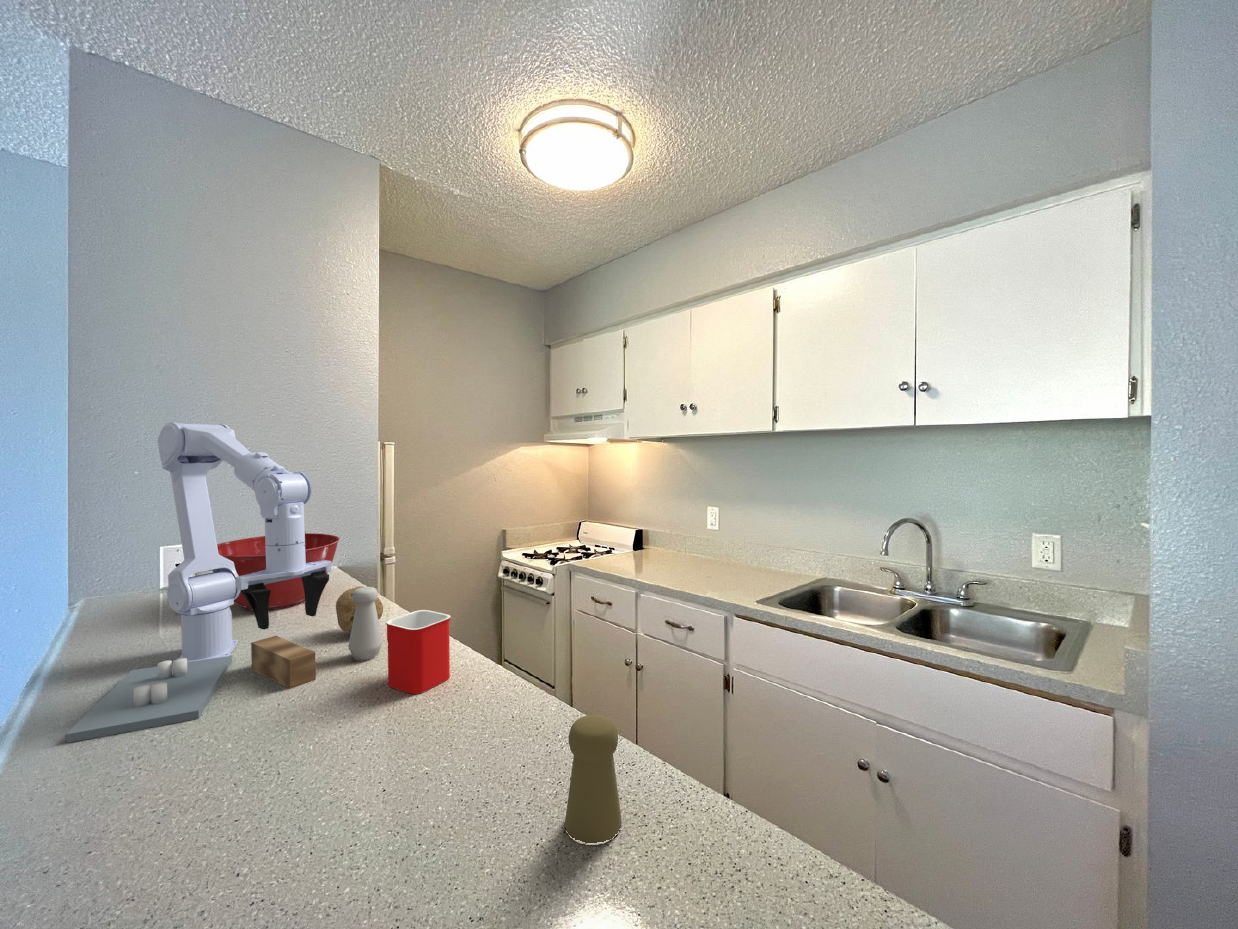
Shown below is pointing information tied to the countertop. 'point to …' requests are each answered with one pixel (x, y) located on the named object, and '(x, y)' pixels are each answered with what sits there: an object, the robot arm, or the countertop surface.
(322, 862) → the countertop surface
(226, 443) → the robot arm
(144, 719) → the peg rack
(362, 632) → the salt shaker
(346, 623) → the natural sponge
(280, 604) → the mixing bowl
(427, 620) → the red rectangular container
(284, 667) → the wooden block
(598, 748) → the olive pawn
